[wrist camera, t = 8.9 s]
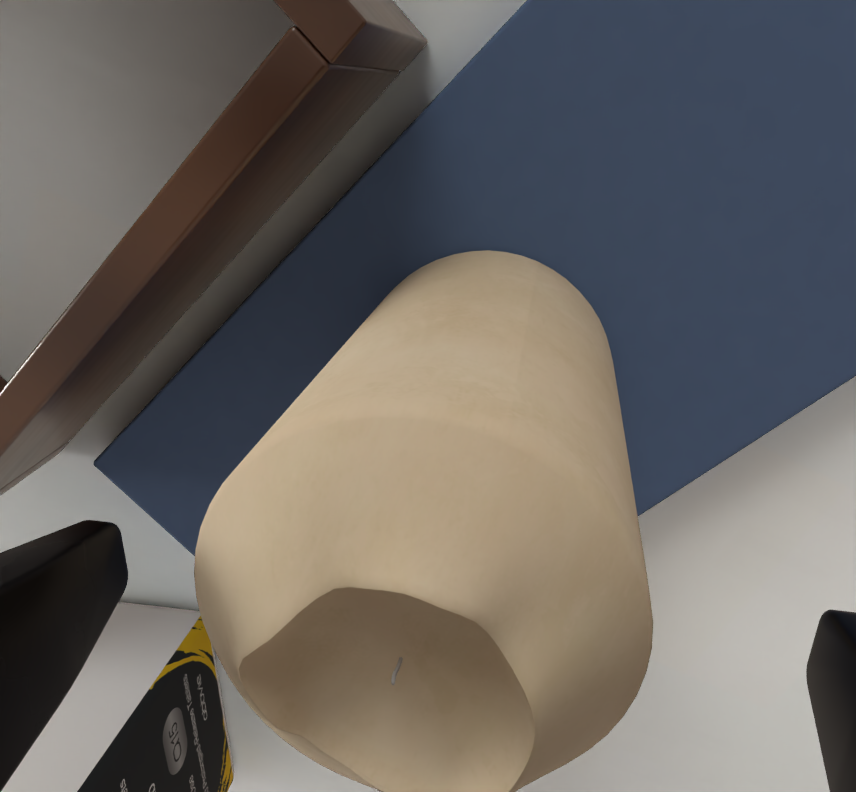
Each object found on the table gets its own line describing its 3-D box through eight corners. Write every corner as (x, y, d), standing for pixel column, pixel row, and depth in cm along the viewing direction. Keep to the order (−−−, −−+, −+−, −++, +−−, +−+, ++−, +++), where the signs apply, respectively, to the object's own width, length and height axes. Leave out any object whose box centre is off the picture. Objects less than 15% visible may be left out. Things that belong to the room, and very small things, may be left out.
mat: (362, 676, 22) (353, 701, 21) (112, 447, 20) (90, 464, 19) (1045, 225, 14) (1079, 234, 13) (730, -208, 12) (743, -232, 12)
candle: (336, 418, 17) (86, 774, 8) (418, 204, 15) (192, 379, 6) (545, 511, 17) (518, 969, 8) (660, 310, 15) (794, 646, 6)
